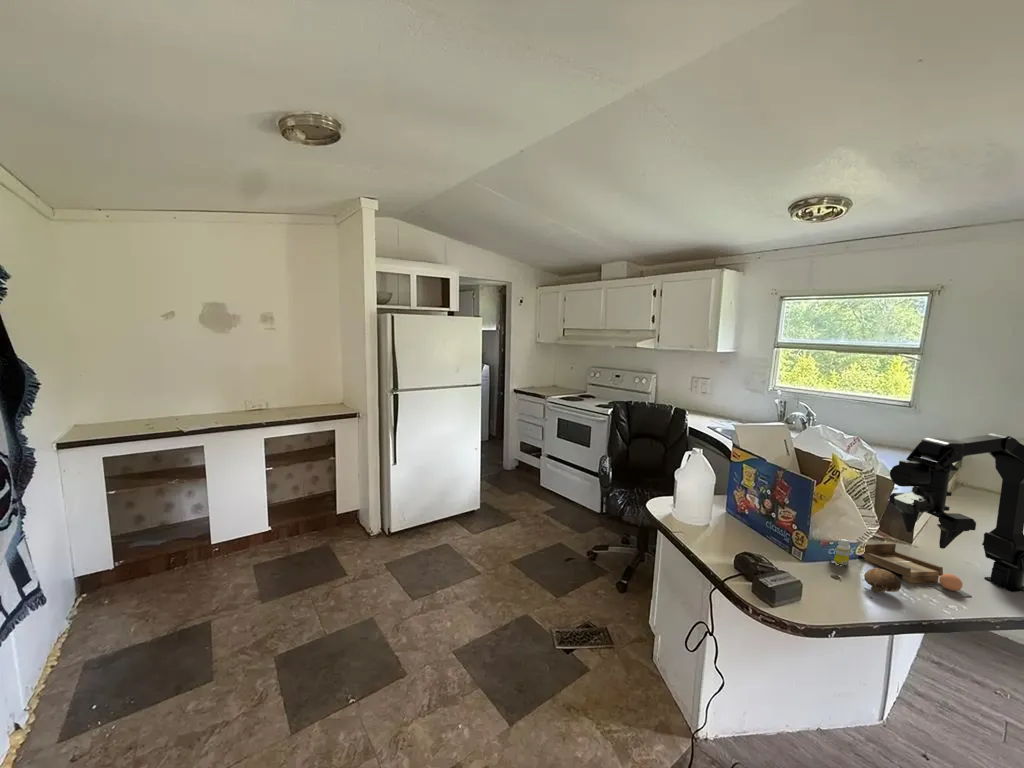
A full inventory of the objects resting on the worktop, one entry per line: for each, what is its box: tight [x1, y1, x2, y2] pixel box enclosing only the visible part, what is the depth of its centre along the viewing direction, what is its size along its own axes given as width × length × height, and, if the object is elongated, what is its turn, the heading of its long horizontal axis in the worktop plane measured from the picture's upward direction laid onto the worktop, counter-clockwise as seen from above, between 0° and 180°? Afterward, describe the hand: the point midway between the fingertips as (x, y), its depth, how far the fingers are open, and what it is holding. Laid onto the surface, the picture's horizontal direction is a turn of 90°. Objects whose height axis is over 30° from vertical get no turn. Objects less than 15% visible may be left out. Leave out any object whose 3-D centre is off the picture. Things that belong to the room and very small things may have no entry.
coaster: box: [927, 582, 973, 598], centre depth 118 cm, size 6×6×1 cm
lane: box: [864, 541, 944, 584], centre depth 129 cm, size 11×16×5 cm
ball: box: [939, 573, 963, 591], centre depth 118 cm, size 4×4×4 cm
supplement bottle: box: [834, 539, 851, 567], centre depth 131 cm, size 5×5×8 cm
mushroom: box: [863, 567, 902, 594], centre depth 116 cm, size 8×8×6 cm
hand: (925, 539), depth 118 cm, fingers open, 9 cm apart
